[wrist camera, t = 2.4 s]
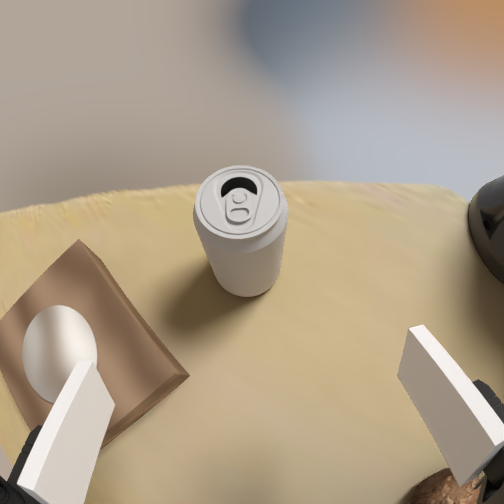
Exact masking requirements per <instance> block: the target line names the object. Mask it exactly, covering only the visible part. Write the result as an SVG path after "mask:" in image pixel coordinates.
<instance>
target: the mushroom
mask: <svg viewBox="0 0 504 504" xmlns="http://www.w3.org/2000/svg"><path fill="white" fill-rule="evenodd" d="M479 481H480V480H479V477H478V476H477V477H476V478H475V479H473V480H472V481H470V482H468V483H466V484H464V485H463V486H461V487H459V485H458V483H457V481H456V479H455V477H454V475H453V473H452V471H451V469H450V468H447V469H443V470H441V471H439V472H437V473H435V474H433V475H432V476H430V477H429V478H427V479H426V480H425V481H423V482H422V483H421V484H419V486H418V488H417V489H416V491H415V493H414V494H413V496H412V499H411V504H476V503H477V500H478V496H479V492H480V490H479V489H480V488H481V485H480V486H479V487H478V488H477V489H476V490H475V489H474V487H475V485H476V484H477V483H478V482H479Z"/></svg>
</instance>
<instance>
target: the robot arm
mask: <svg viewBox="0 0 504 504" xmlns="http://www.w3.org/2000/svg"><path fill="white" fill-rule="evenodd" d="M469 224H470V229H471V233H472V237H473V240H474V243H475V245H476V247H477V250H478V252H479V254H480V256H481V257H482V259H483V261H484V262H485V264H486V265H487V267H488V268H489V269H490V271H491V272H492V273H493V274H494V275H495V276H496V277H497V278H498V279H499V280H500V281H502V282H503V283H504V175H503V176H502V177H499V178H497V179H495V180H493V181H491V182H489V183H487V184H485V185H484V186H483V187H482V188H481V189H480V190H479V191H478V192H477V193H476V194H475V196H474V197H473V198H472V200H471V203H470V206H469ZM397 376H398V378H399V380H400V381H401V383H402V385H403V386H404V388H405V390H406V391H407V393H408V395H409V396H410V398H411V400H412V401H413V403H414V405H415V406H416V408H417V410H418V412H419V413H420V415H421V417H422V418H423V420H424V422H425V424H426V425H427V427H428V429H429V431H430V433H431V434H432V436H433V438H434V440H435V442H436V443H437V445H438V447H439V449H440V451H441V452H442V454H443V456H444V458H445V460H446V462H447V464H448V466H449V467H450V469H451V471H452V473H453V475H454V477H455V479H456V481H457V483H458V485H459V487H461V486H463V485H464V484H466V483H468V482H470V481H472V480H473V479H475V478H476V477H477V476H478V475H479V474H480V473H481V472H482V471H484V473H485V475H484V476H483V478H482V479H481V480H480V481H479V482H478V483H477V484H476V485H475V487H474V489H475V490H476V489H477V488H478V487H479V486H480V485H481V488H480V489H479V490H480V492H479V496H478V500H477V503H476V504H504V404H503V403H501V401H500V399H499V398H498V397H496V394H495V393H494V392H493V391H492V389H491V388H490V387H489V386H488V385H487V384H485V383H483V382H482V381H480V380H479V379H478V380H476V381H474V382H471V381H470V379H469V378H468V377H467V376H466V374H465V373H464V372H463V371H462V369H461V368H460V367H459V366H458V365H457V363H456V362H455V361H454V360H453V359H452V357H451V356H450V355H449V354H448V353H447V351H446V350H445V349H444V348H443V347H442V346H441V344H440V343H439V342H438V341H437V340H436V339H435V338H434V336H433V335H432V334H431V333H430V332H429V331H428V330H427V328H426V327H425V326H424V325H419V326H415V327H411V328H408V332H407V337H406V342H405V346H404V350H403V355H402V359H401V363H400V367H399V370H398V374H397ZM114 407H115V403H114V402H113V400H112V398H111V396H110V394H109V392H108V390H107V388H106V386H105V384H104V382H103V381H102V379H101V376H100V374H99V372H98V370H97V368H96V366H95V364H94V362H93V361H83V360H79V361H78V362H77V364H76V366H75V368H74V369H73V371H72V373H71V375H70V376H69V378H68V380H67V382H66V383H65V385H64V387H63V389H62V391H61V393H60V394H59V396H58V398H57V400H56V402H55V404H54V406H53V407H52V409H51V411H50V413H49V415H48V417H47V419H46V421H45V423H44V425H43V426H41V425H38V426H37V427H36V428H35V429H34V430H32V431H31V432H30V434H29V436H28V438H27V440H26V442H25V445H24V446H23V448H22V450H21V451H22V452H21V453H20V454H19V457H18V459H17V461H16V463H15V465H14V467H13V470H12V472H11V474H10V476H9V479H8V481H7V482H6V481H5V480H4V479H3V478H2V477H1V476H0V504H84V501H85V497H86V493H87V490H88V486H89V483H90V480H91V476H92V473H93V470H94V466H95V463H96V460H97V457H98V454H99V451H100V447H101V444H102V441H103V438H104V435H105V432H106V430H107V427H108V424H109V421H110V418H111V415H112V412H113V410H114Z"/></svg>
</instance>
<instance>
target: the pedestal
mask: <svg viewBox="0 0 504 504" xmlns="http://www.w3.org/2000/svg"><path fill="white" fill-rule="evenodd" d="M79 360H83V361H93V362H94V364H95V366H96V368H97V370H98V372H99V374H100V376H101V379H102V381H103V382H104V384H105V386H106V388H107V390H108V392H109V394H110V396H111V398H112V400H113V402H114V403H115V407H114V410H113V412H112V415H111V418H110V421H109V424H108V427H107V430H106V432H105V435H104V438H103V441H102V444H101V447H100V449H101V448H103V447H104V446H105V445H107V444H108V443H109V442H110V441H112V440H113V439H114V438H115V437H117V436H118V435H119V434H120V433H122V432H123V431H124V430H125V429H127V428H128V427H129V426H130V425H132V424H133V423H134V422H135V421H137V420H138V419H139V418H140V417H141V416H143V415H144V414H145V413H146V412H147V411H149V410H150V409H151V408H152V407H153V406H155V405H156V404H157V403H158V402H159V401H161V400H162V399H163V398H164V397H165V396H167V395H168V394H169V393H170V392H171V391H172V390H174V389H175V388H176V387H177V386H178V385H179V384H181V383H182V382H183V381H184V380H185V379H186V378H187V377H189V376H190V375H189V374H188V373H187V372H186V370H185V369H184V368H183V367H182V366H181V365H180V364H179V362H178V361H177V360H176V359H175V358H174V356H173V355H172V354H171V353H170V352H169V351H168V349H167V348H166V347H165V346H164V344H163V343H162V342H161V341H160V340H159V338H158V337H157V336H156V335H155V333H154V332H153V331H152V330H151V328H150V327H149V326H148V324H147V323H146V322H145V321H144V319H143V318H142V317H141V315H140V314H139V313H138V311H137V310H136V309H135V307H134V306H133V305H132V303H131V302H130V301H129V299H128V298H127V297H126V295H125V294H124V292H123V291H122V290H121V288H120V287H119V285H118V284H117V283H116V281H115V280H114V278H113V277H112V275H111V274H110V272H109V271H108V269H107V268H106V266H105V265H104V263H103V262H102V260H101V259H100V258H99V257H98V256H97V255H95V254H94V253H93V252H92V251H91V250H90V249H89V248H88V247H87V246H86V245H85V244H84V243H83V242H81V241H80V240H79V239H78V240H77V241H76V242H75V243H74V244H73V245H72V246H71V247H70V248H69V249H68V250H67V251H65V252H64V253H63V254H62V255H61V256H60V257H59V258H58V259H57V260H56V261H55V262H54V263H53V264H52V265H51V266H50V267H49V268H48V269H47V270H46V271H45V272H44V273H43V274H42V275H41V276H40V277H39V278H38V279H37V280H36V281H35V282H34V283H33V284H32V285H31V287H30V288H29V289H28V290H27V291H26V292H25V293H24V294H23V295H22V296H21V297H20V298H19V299H18V301H17V302H16V303H15V304H14V305H13V306H12V307H11V308H10V310H9V311H8V312H7V313H6V314H5V315H4V317H3V318H2V319H1V320H0V369H1V372H2V374H3V376H4V379H5V381H6V383H7V385H8V387H9V390H10V392H11V394H12V396H13V398H14V400H15V402H16V404H17V406H18V408H19V410H20V412H21V414H22V416H23V417H24V419H25V421H26V423H27V425H28V426H29V428H30V430H31V431H32V430H34V429H35V428H36V427H37V426H38V425H41V426H43V425H44V423H45V421H46V419H47V417H48V415H49V413H50V411H51V409H52V407H53V406H54V404H55V402H56V400H57V398H58V396H59V394H60V393H61V391H62V389H63V387H64V385H65V383H66V382H67V380H68V378H69V376H70V375H71V373H72V371H73V369H74V368H75V366H76V364H77V362H78V361H79Z"/></svg>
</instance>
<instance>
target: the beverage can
mask: <svg viewBox="0 0 504 504" xmlns="http://www.w3.org/2000/svg"><path fill="white" fill-rule="evenodd" d="M193 219H194V224H195V227H196V230H197V232H198V235H199V237H200V240H201V242H202V245H203V247H204V250H205V252H206V255H207V257H208V260H209V262H210V264H211V267H212V269H213V272H214V274H215V277H216V279H217V281H218V282H219V284H220V285H221V286H222V287H223V288H224V289H225V290H226V291H228V292H230V293H232V294H234V295H237V296H241V297H251V296H256V295H259V294H262V293H264V292H265V291H267V290H268V289H269V288H270V287H271V286H272V285H273V284H274V283H275V281H276V280H277V278H278V276H279V272H280V267H281V260H282V254H283V247H284V241H285V234H286V227H287V220H288V204H287V200H286V198H285V196H284V194H283V191H282V189H281V187H280V185H279V183H278V182H277V180H276V179H275V178H274V177H273V176H271V175H270V174H269V173H267V172H266V171H264V170H262V169H259V168H256V167H253V166H245V165H238V166H237V165H236V166H230V167H226V168H223V169H221V170H218V171H216V172H215V173H213V174H212V175H210V176H209V177H208V178H207V179H206V180H205V181H204V182H203V183H202V185H201V186H200V188H199V190H198V192H197V195H196V199H195V205H194V210H193Z"/></svg>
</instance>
